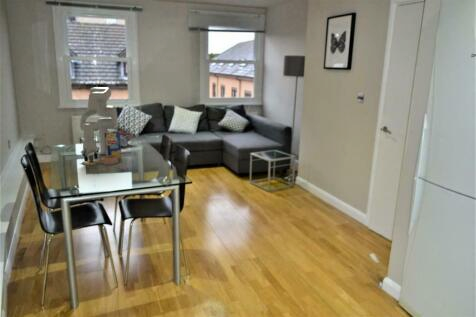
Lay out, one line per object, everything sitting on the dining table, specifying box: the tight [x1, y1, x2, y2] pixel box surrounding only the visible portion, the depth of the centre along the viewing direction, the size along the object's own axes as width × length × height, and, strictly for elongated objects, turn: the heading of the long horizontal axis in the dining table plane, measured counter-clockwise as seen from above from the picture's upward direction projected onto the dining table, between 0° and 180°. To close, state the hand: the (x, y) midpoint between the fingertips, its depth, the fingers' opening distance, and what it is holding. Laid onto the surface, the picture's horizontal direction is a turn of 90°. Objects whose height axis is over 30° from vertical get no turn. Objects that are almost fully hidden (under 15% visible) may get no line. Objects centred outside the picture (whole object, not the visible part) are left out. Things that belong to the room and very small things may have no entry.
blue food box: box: [105, 131, 122, 159], centre depth 315 cm, size 7×11×22 cm, turn 121°
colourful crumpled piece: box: [117, 129, 135, 148], centre depth 367 cm, size 20×22×18 cm
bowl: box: [100, 155, 119, 165], centre depth 300 cm, size 12×12×5 cm
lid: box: [81, 154, 102, 166], centre depth 298 cm, size 14×14×6 cm
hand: (91, 159), depth 299 cm, fingers open, 9 cm apart
